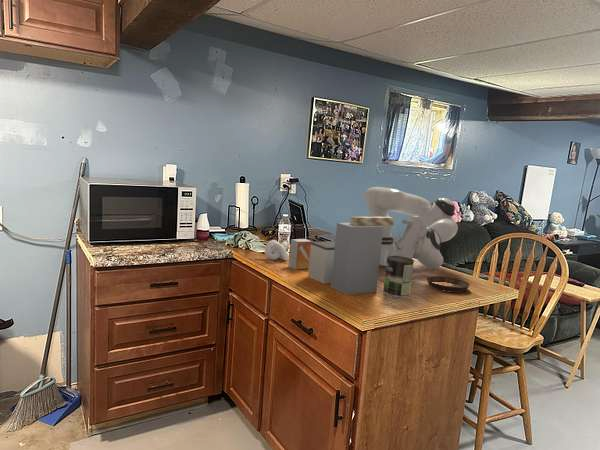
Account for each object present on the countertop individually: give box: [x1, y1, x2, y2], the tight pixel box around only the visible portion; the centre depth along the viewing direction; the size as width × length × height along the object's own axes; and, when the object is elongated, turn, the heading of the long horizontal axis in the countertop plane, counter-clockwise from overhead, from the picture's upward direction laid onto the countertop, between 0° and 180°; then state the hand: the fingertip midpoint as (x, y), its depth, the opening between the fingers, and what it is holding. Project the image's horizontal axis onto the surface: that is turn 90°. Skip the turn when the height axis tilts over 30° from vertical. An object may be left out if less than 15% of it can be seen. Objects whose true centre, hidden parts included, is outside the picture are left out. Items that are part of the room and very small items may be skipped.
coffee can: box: [382, 256, 415, 299], centre depth 166 cm, size 10×10×14 cm
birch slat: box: [349, 216, 395, 226], centre depth 167 cm, size 19×4×3 cm, turn 120°
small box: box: [288, 238, 313, 270], centre depth 196 cm, size 8×6×13 cm
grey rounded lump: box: [264, 239, 289, 261], centre depth 210 cm, size 11×12×9 cm
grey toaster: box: [307, 240, 335, 285], centre depth 181 cm, size 18×12×15 cm, turn 120°
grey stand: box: [330, 222, 383, 295], centre depth 166 cm, size 15×10×26 cm, turn 120°
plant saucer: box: [426, 275, 471, 293], centre depth 182 cm, size 18×18×3 cm
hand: (399, 229), depth 173 cm, fingers open, 8 cm apart
